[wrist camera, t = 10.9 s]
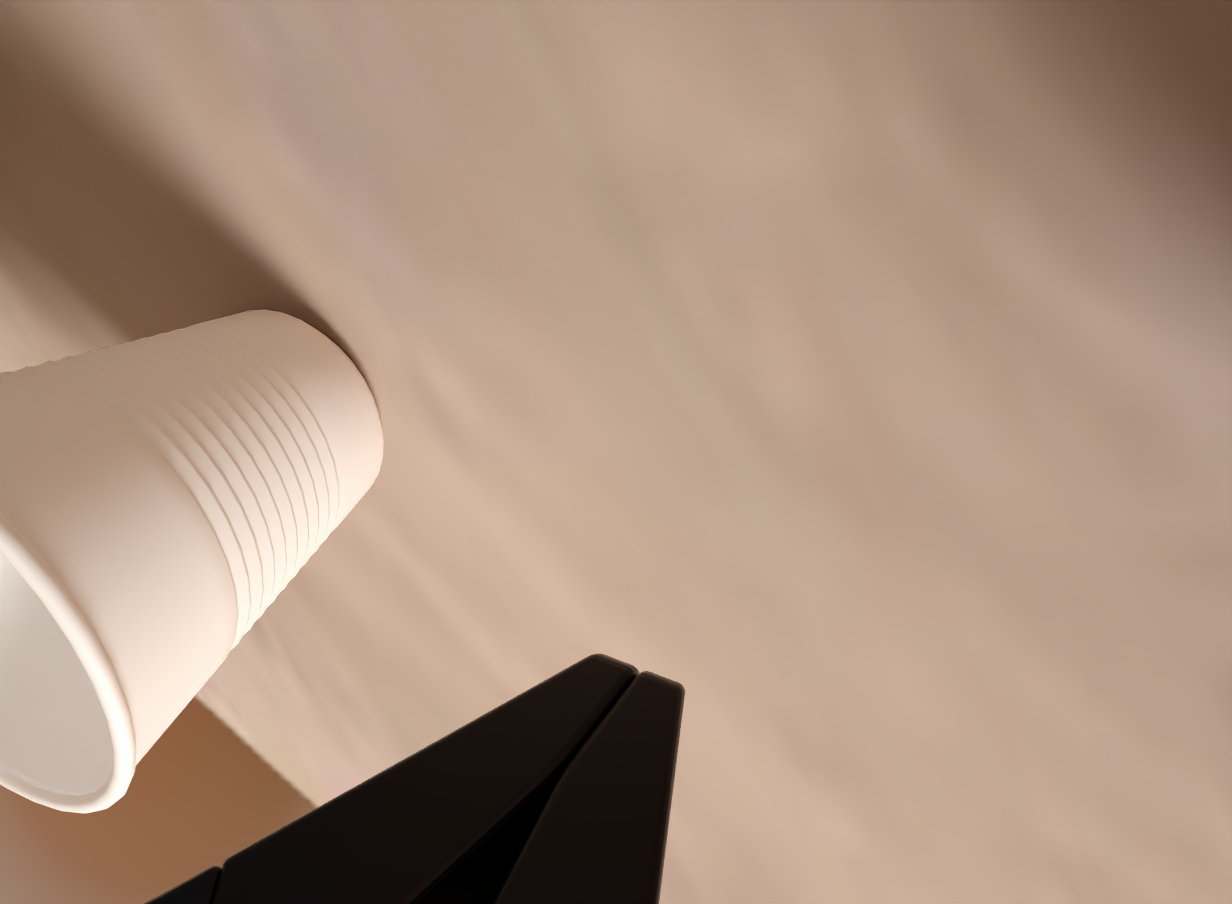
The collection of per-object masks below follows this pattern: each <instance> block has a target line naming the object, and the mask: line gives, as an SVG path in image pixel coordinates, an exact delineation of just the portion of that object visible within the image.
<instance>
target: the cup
mask: <svg viewBox="0 0 1232 904" xmlns="http://www.w3.org/2000/svg"><path fill="white" fill-rule="evenodd" d="M382 459H383V435H382V429H381V422H380V418H379V413H378V410H377V407H376V404H375V401H374V398H373V395H372V393H371V391H370V389H369V387H368V385H367V383H366V381H365V379H364V378H363V376H362V375H361V373H360V372H359V371H358V369H357V368H356V366H355V365H354V363H353V362H352V361H351V360H350V359H349V357H348V356H347V355H346V354H345V353H344V352H343V351H342V350H341V348H340V347H338V346H337V345H336V344H335V343H334V342H333V341H331V340H330V339H329V338H328V337H327V336H325V335H324V334H322V333H321V332H320V331H318V330H317V329H315V328H313V327H312V326H310V325H308V324H307V323H305V322H304V321H302V320H300V319H298V318H295V317H293V316H290V315H288V314H285V313H282V312H277V311H271V310H249V311H245V312H242V313H238V314H234V315H230V316H226V317H222V318H218V319H214V320H210V321H206V322H202V323H198V324H194V325H191V326H188V327H186V328H183V329H175V330H173V331H170V332H167V333H159V334H156V335H154V336H151V337H143V338H140V339H138V340H135V341H132V342H124V343H121V344H119V345H116V346H107V347H105V348H102V349H99V350H97V351H88V352H85V353H82V354H80V355H77V356H68V357H65V358H63V359H60V360H58V361H48V362H45V363H43V364H40V365H38V366H31V367H25V368H23V369H20V370H17V371H15V372H3V373H0V784H1V785H2V786H4V787H6V788H7V789H9V790H12V791H13V792H15V793H17V794H19V795H21V796H23V797H25V798H28V799H30V800H31V801H33V802H36V803H40V804H42V805H45V806H48V807H51V808H54V809H57V810H61V811H68V812H77V813H90V812H94V811H99V810H104V809H107V808H109V807H110V806H111V805H112V804H114V803H115V802H116V801H117V800H119V799H120V798H121V797H122V796H124V795H125V793H126V791H127V789H128V786H129V784H130V782H131V779H132V777H133V775H134V772H135V766H136V765H137V763H138V762H139V761H140V760H141V759H142V757H143V756H144V755H145V754H146V753H147V752H148V750H149V749H150V748H151V747H152V746H153V744H154V743H155V742H156V741H157V740H158V739H159V737H160V736H161V735H162V734H163V733H164V731H165V730H166V729H167V728H168V727H169V726H170V724H171V723H172V722H173V721H174V720H175V718H176V717H177V716H178V715H179V714H180V712H181V711H182V710H183V709H184V708H185V706H186V705H187V704H188V703H189V702H190V701H191V699H192V698H193V697H194V696H195V695H196V693H197V692H198V691H199V690H200V689H201V688H202V686H203V685H204V684H205V683H206V682H207V680H208V679H209V678H210V677H211V676H212V674H213V673H214V672H215V671H216V670H217V669H218V667H219V666H220V665H221V664H222V663H223V661H224V660H225V659H226V658H227V656H228V654H229V652H230V650H231V649H233V648H234V647H235V646H236V645H237V644H238V643H239V642H240V640H241V638H242V636H243V635H244V634H245V633H247V632H248V631H249V630H250V629H251V628H252V626H253V624H254V622H255V621H256V620H257V619H258V618H259V617H261V616H262V615H263V613H264V611H265V609H266V608H267V607H268V606H269V605H270V604H271V603H272V602H274V601H275V599H276V597H277V595H278V594H279V593H280V592H281V591H282V590H283V589H284V588H286V586H287V584H288V582H289V581H290V580H291V579H292V578H293V577H294V576H295V575H296V574H297V573H298V571H299V569H300V568H301V567H302V566H303V565H304V564H306V563H307V561H308V559H309V557H310V556H311V555H312V554H313V553H315V552H316V551H317V549H318V548H319V546H320V545H321V544H322V543H323V542H324V541H325V540H326V539H327V537H328V536H329V534H330V533H331V532H332V531H333V530H334V529H335V528H336V527H337V526H338V525H339V524H340V523H341V521H342V520H343V519H344V518H345V517H346V516H347V514H348V513H349V512H350V511H351V510H352V508H353V507H354V506H355V505H356V504H357V502H358V501H359V500H360V499H361V498H362V497H363V495H364V494H365V493H366V492H367V491H368V489H369V488H370V487H371V486H372V484H373V482H374V481H375V479H376V477H377V475H378V474H379V471H380V467H381V463H382Z"/></svg>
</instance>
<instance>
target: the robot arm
mask: <svg viewBox="0 0 1232 904" xmlns="http://www.w3.org/2000/svg"><path fill="white" fill-rule="evenodd" d="M684 696H685V689H684V687H683V686H682V684H680V683H678V682H675V681H673V680H670V679H667V678H665V677H662V676H659V675H657V674H654V673H651V672H648V671H644V672H641V673H639V671H638V670H637V668H635V667H634V666H633V665H630V664H628V663H625V662H622V661H620V660H617V659H614V658H612V657H609V656H606V655H603V654H594V655H590V656H588V657H586V658H584V659H583V660H581V661H579V662H577V663H576V664H574V665H572V666H570V667H568V668H567V669H565V670H563V671H561V672H559V673H558V674H556V675H554V676H552V677H551V678H549V679H547V680H545V681H543V682H542V683H540V684H538V685H536V686H534V687H533V688H531V689H529V690H527V691H525V692H524V693H522V694H520V695H518V696H517V697H515V698H513V699H511V700H509V701H508V702H506V703H504V704H502V705H500V706H499V707H497V708H495V709H493V710H492V711H490V712H488V713H486V714H484V715H483V716H481V717H479V718H477V719H475V720H474V721H472V722H470V723H468V724H466V725H465V726H463V727H461V728H459V729H458V730H456V731H454V732H452V733H450V734H449V735H447V736H445V737H443V738H441V739H440V740H438V741H436V742H434V743H432V744H431V745H429V746H427V747H425V748H424V749H422V750H420V751H418V752H416V753H415V754H413V755H411V756H409V757H407V758H406V759H404V760H402V761H400V762H399V763H397V764H395V765H393V766H391V767H390V768H388V769H386V770H384V771H382V772H381V773H379V774H377V775H375V776H373V777H372V778H370V779H368V780H366V781H365V782H363V783H361V784H359V785H357V786H356V787H354V788H352V789H350V790H348V791H347V792H345V793H343V794H341V795H340V796H338V797H336V798H334V799H332V800H331V801H329V802H327V803H325V804H323V805H322V806H320V807H318V808H316V809H315V810H313V811H311V812H309V813H308V814H306V815H304V816H302V817H300V818H298V819H297V820H295V821H293V822H291V823H290V824H288V825H286V826H284V827H282V828H281V829H279V830H277V831H275V832H274V833H272V834H270V835H268V836H267V837H264V838H263V839H261V840H259V841H257V842H255V843H254V844H252V845H250V846H248V847H247V848H245V849H243V850H241V851H239V852H238V853H236V854H234V855H232V856H230V857H229V858H227V859H226V860H225V862H224V863H223V866H222V868H221V867H220V866H218V865H214V866H212V867H210V868H208V869H206V870H205V871H203V872H201V873H199V874H197V875H196V876H194V877H192V878H190V879H189V880H187V881H185V882H183V883H181V884H180V885H178V886H176V887H174V888H173V889H171V890H169V891H167V892H165V893H163V894H161V895H160V896H158V897H156V898H154V899H152V900H150V901H148V902H147V903H145V904H659V899H660V891H661V883H662V874H663V866H664V858H665V850H666V842H667V834H668V826H669V818H670V810H671V801H672V793H673V785H674V777H675V769H676V761H677V753H678V745H679V737H680V728H681V720H682V712H683V704H684Z"/></svg>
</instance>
